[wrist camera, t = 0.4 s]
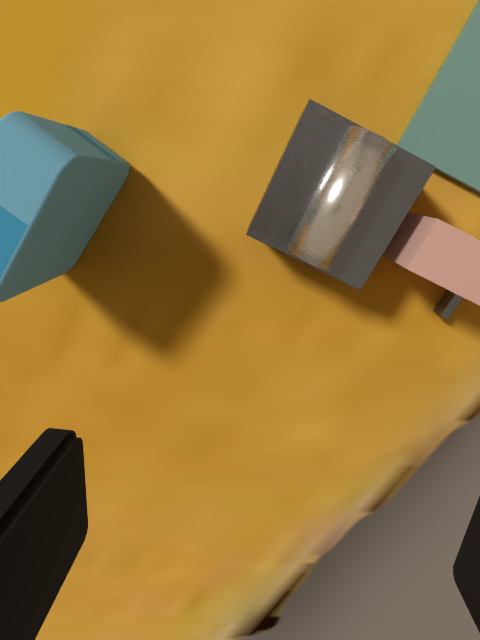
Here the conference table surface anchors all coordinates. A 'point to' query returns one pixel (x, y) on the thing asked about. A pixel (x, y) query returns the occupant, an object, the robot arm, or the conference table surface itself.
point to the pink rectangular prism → (438, 254)
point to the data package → (50, 197)
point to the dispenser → (340, 198)
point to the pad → (452, 112)
